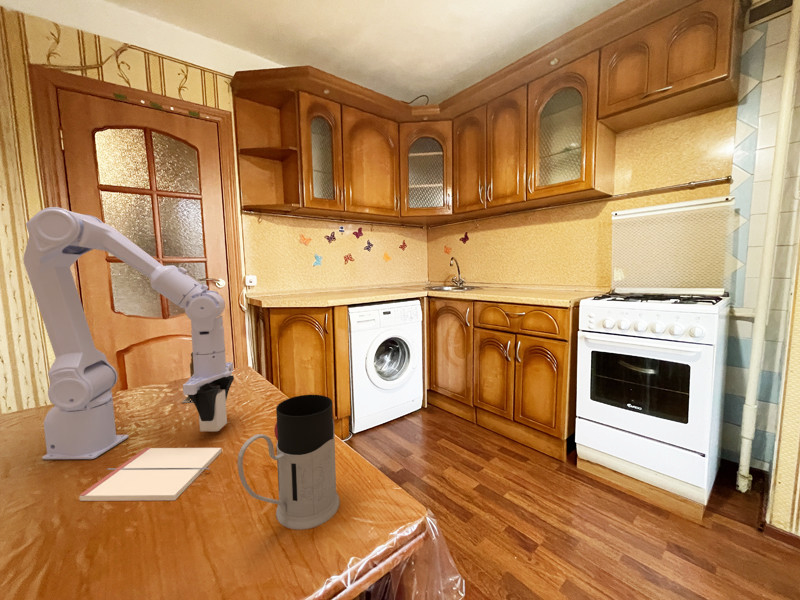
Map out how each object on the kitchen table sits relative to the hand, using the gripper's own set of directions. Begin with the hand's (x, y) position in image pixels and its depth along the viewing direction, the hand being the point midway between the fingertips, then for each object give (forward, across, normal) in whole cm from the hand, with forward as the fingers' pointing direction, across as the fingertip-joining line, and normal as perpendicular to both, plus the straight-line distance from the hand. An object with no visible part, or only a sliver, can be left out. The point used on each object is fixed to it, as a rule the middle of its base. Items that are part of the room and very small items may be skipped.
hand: (213, 415), depth 70 cm
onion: (+4, -6, -18) cm, 19 cm away
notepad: (+4, -14, +2) cm, 15 cm away
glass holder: (+4, -24, -24) cm, 34 cm away
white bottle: (+2, 0, 0) cm, 2 cm away
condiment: (+4, +20, +14) cm, 25 cm away
